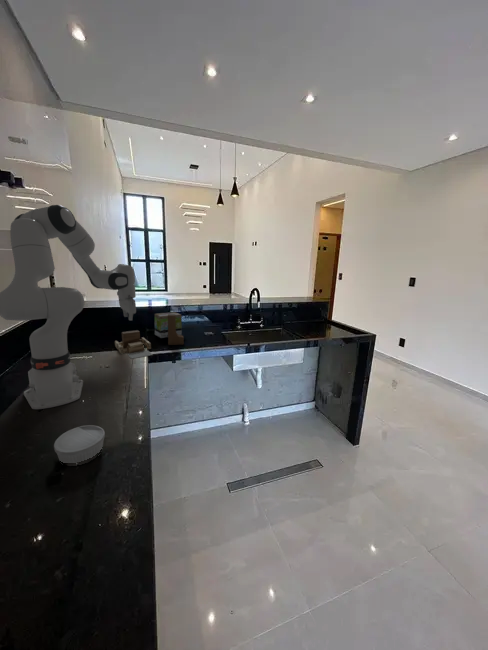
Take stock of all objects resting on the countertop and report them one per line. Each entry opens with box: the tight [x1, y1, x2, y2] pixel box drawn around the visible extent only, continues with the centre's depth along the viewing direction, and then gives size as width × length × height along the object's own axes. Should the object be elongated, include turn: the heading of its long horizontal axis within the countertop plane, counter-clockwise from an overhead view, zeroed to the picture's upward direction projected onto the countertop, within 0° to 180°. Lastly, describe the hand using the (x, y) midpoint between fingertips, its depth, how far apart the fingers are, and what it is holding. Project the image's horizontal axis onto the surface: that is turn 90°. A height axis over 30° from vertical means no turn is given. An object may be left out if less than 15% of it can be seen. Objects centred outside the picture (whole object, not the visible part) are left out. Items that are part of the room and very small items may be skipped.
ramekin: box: [53, 424, 106, 463], centre depth 70 cm, size 11×11×5 cm
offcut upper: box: [128, 342, 143, 348], centre depth 148 cm, size 4×7×2 cm, turn 133°
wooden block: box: [167, 314, 185, 346], centre depth 161 cm, size 9×4×18 cm, turn 104°
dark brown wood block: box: [121, 329, 141, 348], centre depth 154 cm, size 4×9×8 cm, turn 127°
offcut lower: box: [127, 345, 146, 354], centre depth 148 cm, size 4×8×2 cm, turn 127°
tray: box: [114, 336, 152, 354], centre depth 153 cm, size 15×16×4 cm
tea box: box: [154, 311, 183, 339], centre depth 179 cm, size 15×10×15 cm
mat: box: [126, 349, 153, 360], centre depth 143 cm, size 8×11×1 cm
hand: (128, 318), depth 152 cm, fingers open, 8 cm apart
